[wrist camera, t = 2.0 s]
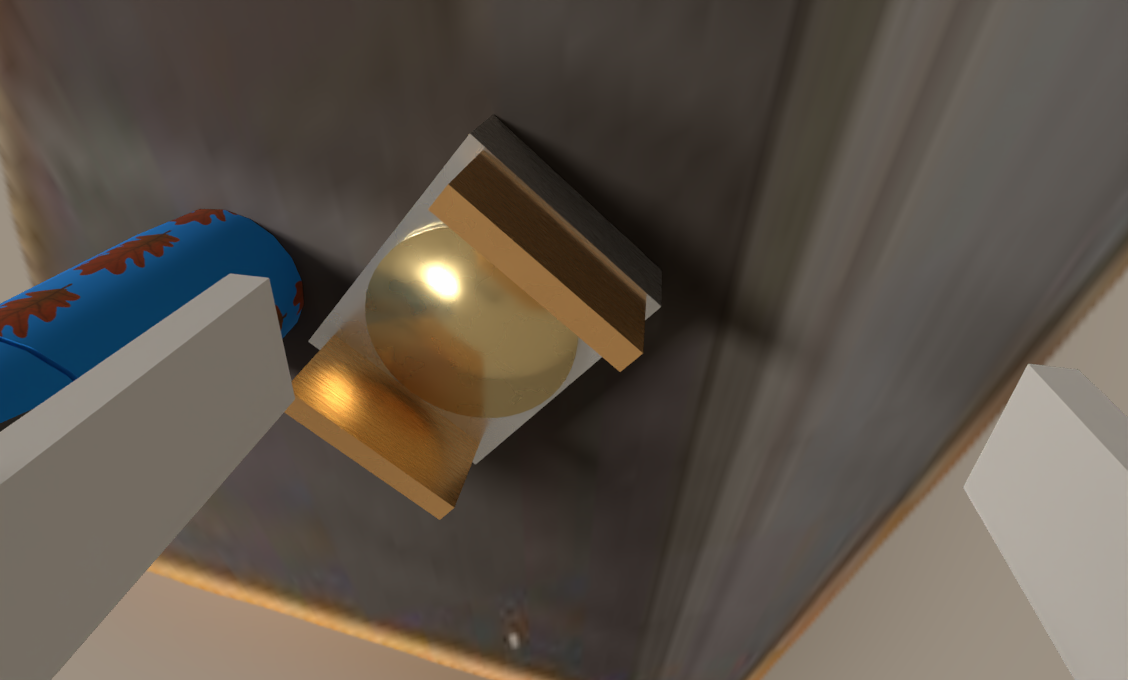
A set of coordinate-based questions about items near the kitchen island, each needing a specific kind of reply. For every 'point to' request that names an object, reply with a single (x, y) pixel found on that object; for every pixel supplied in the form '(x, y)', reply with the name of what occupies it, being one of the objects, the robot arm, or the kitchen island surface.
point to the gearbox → (473, 320)
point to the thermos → (130, 299)
